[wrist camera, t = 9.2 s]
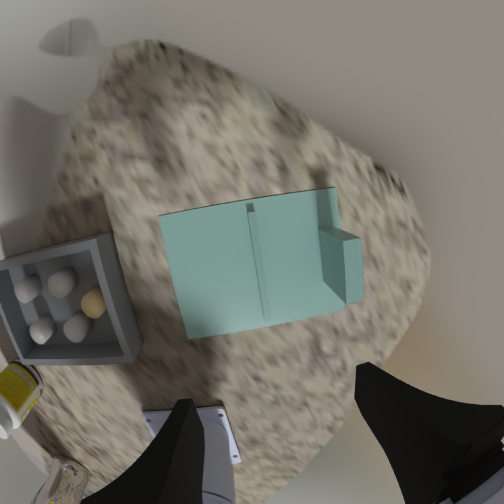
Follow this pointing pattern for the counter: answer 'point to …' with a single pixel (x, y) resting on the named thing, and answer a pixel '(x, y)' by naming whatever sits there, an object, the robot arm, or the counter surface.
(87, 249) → the tub
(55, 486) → the beer glass
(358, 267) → the lid
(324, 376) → the counter surface
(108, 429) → the counter surface
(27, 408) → the supplement bottle
